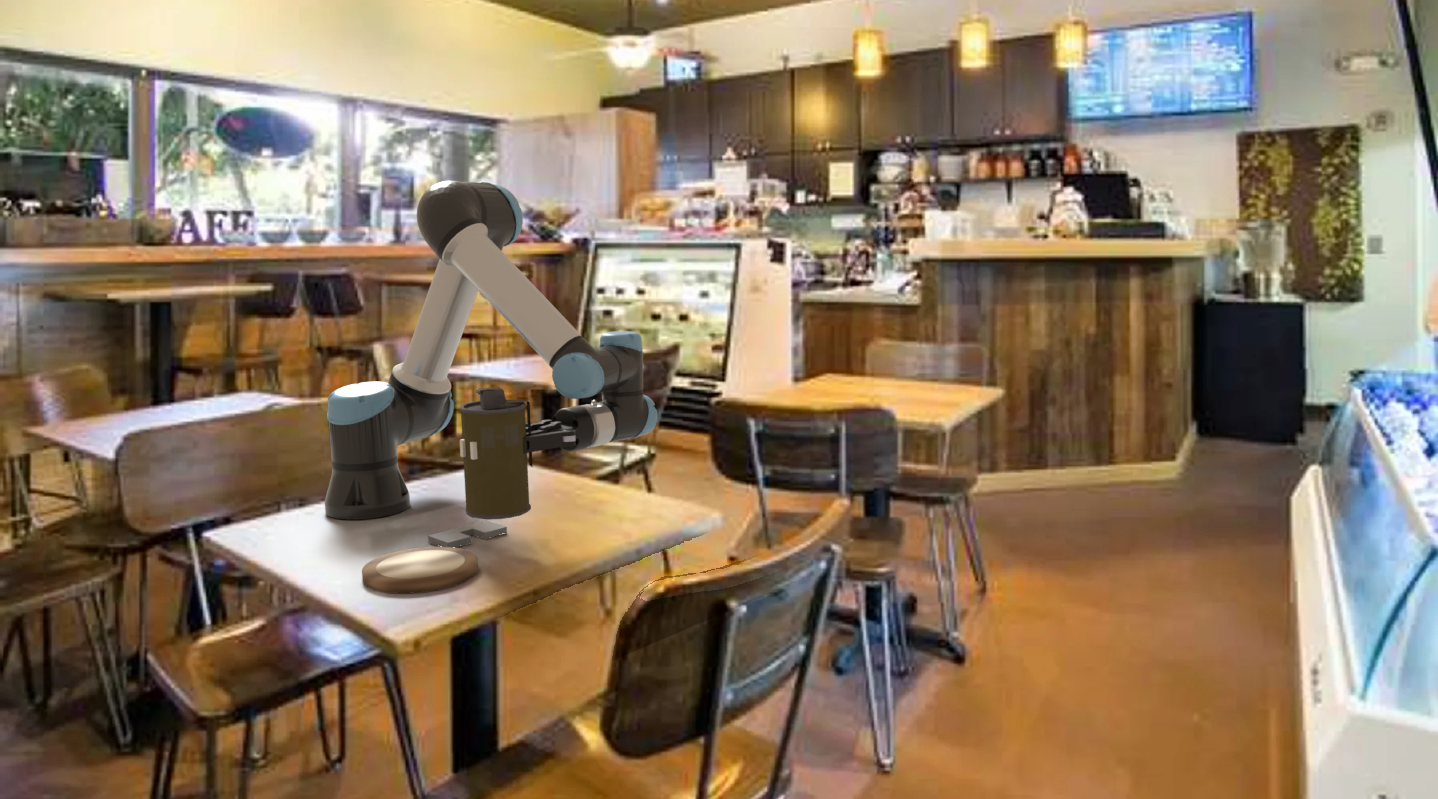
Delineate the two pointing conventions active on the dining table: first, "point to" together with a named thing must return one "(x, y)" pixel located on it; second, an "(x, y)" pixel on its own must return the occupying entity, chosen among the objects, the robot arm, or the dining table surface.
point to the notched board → (466, 534)
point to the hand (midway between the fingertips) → (466, 449)
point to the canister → (496, 455)
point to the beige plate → (420, 570)
